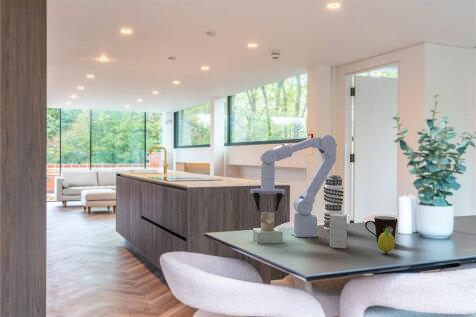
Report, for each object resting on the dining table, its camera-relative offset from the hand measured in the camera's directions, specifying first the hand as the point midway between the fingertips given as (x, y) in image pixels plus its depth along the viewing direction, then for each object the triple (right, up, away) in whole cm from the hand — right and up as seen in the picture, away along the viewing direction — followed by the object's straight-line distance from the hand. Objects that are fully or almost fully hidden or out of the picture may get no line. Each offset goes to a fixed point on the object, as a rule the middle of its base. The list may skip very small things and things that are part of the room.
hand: (267, 210), depth 177 cm
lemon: (+39, -11, -31) cm, 51 cm away
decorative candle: (+32, -11, +18) cm, 38 cm away
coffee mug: (+44, -11, -12) cm, 47 cm away
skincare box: (+25, -11, -21) cm, 34 cm away
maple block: (-1, -6, -10) cm, 12 cm away
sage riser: (-1, -10, -10) cm, 15 cm away
